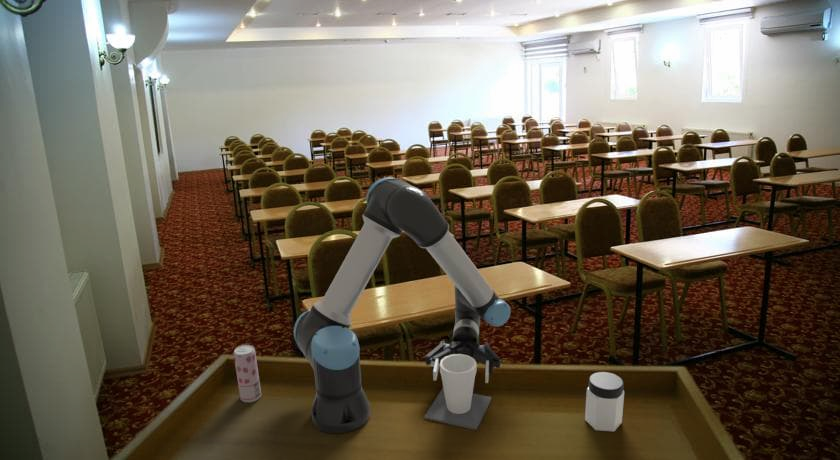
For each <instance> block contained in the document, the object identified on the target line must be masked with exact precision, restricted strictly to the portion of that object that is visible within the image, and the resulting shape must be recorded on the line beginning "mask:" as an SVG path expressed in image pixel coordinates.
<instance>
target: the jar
mask: <svg viewBox="0 0 840 460" xmlns="http://www.w3.org/2000/svg"><path fill="white" fill-rule="evenodd" d="M585 395H586V396H585V399H586V400H585V411H584V412H585V414H584V415H585V416H584V420H585V422H587V423H588V424H589V426H591V428H593V429H594V431H601V432H616V430H617V429H618V428H619V427H620V425H621V424H622V422H623V414H624V413H623V412H624V411H623V409H624V402H625V400H624V399H625V390H624V380H623V379H622V377H620V376H619V375H617V374H615V373H612V372H608V371H598V372H594V373H592V374H591V375H590V376H589V378H588V387H587V388H586V394H585Z"/></svg>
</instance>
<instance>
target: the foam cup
mask: <svg viewBox="0 0 840 460" xmlns="http://www.w3.org/2000/svg"><path fill="white" fill-rule="evenodd" d="M477 367H478V366H477V360H476V359H474V358H472V357H470V356H468V355H463V354H452V355H449V356H446V357H444V358H443V359H442V360H441V362H440V364H439V373H440V376H441V381H442V388H443V389H444V394H445V400H446V405H447V409H448V410H449V411H450V412H452V413H456V414H463V413H466V412H468V411H469V410H470V407H471V401H472V394H474V393H473V392H474V387H475V379H476V378H475V377H476V375H477Z"/></svg>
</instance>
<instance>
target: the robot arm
mask: <svg viewBox="0 0 840 460" xmlns="http://www.w3.org/2000/svg"><path fill="white" fill-rule="evenodd" d="M366 205H367V206H366V209H364V212H363V214H362V215H361V216H362V220H363V225H362V227H361V230H360V231H359V232H358V234H357V237H356V238H355V240H354V242H353V243H352V246H351V247H350V249H349V251H348V252H347V254H346V255H345V258H344V260H343V261H342V263H341V265H340V267H339V269H338V271H337V272H336V274H335V276H334V278H333V279H332V282H331V283H330V285H329V287H328V289H327V290H326V292H325V294H324V296H323V297H322V299H321V300H319V301H316V302H314V303H313V304H312V306H311V308H310V309H308V310H307V311H304V312H302V313H301V314H300V316H299V317H297V319H296V321H295V323H294V326H293V336H294V340H295V343H296V345H297V348H298V349H299V350H300V352H302V353H303V356H304V357H305V358H306V359H307V361H308V363H309V364H310V366H311V367H312V369H313V373H314V381H315V382H314V383H315V392H316V393H315V397H314V400H313V405H312V407H311V420H312V423H313V425H314V426H315V428H317V429H318V430H319V431H322V432H324V433H329V434H334V435H335V434H345V433H350V432H354V431H356V430H358V429H360V428H361V427H363V426H364V425H365V424H366V423H367V422H368V420H369V419H370V417H371V405H370V401H369V400H368V398H367V395H366V393H365V391H364V389H363V387H362V374H361V360H360V348H361V347H360V344H359V340H358V337H357V335H356V333H355V332H353V330H352V329H350V327H351V325H352V319H351V313H352V312H353V311H354V308H355V306H356V304H357V303H358V301H359V299H360V297H361V295H362V294H363V292H364V290H365V288H366V287H367V284H368V283H369V281H370V279H371V277H372V275H373V274H374V272H375V270H376V268H377V267H378V265H379V263H380V261H381V259H382V257H383V256H384V254H385V252H386V250H387V249H388V247H389V246H390V243H391V241H392V240H393V239H396V238H399V237H400V236H401V235H402V233H404V234H406V235H407V236H408V237H410V238H411V239H412V240H413V241H414V242H415V243H416V245H417V246H418V247H419V248H422V249H426V251H427V252H428V253H429V254H430V255H431V257H432V258H433V259H434V260H435V262H436V263H437V265H439V267H440V269H442V271H443V272H444V273H445V275H447V277H448V278H449V280H451V282H452V283H453V284H454V300H455V301H454V302H455V303H454V304H455V306H454V307H455V308H454V313H455V314H454V315H455V317H454V318H455V321H454V327H453V331H452V332H453V333H452V339H451V342H450V343H446V341H445V340H441V341H439V344H438V345H437V346H436V347H435V348H433V349H432V350H430V351H429V352H428V353H427V354H426V355H425V364H426V366H430V372H432V379H433V382H434V381H437V378H438V373H439V370H440V362H441V360H442V359H443V358H444V357H446V356H449V355H452V354H463V355H468V356H470V357H472V358H474V360H476V361H478V362H479V363H481V364H482V365H484V364H486V365H484V366H485V374H484V377H485V378H484V379H485V380H484V383H485V384H488V383H489V380H490V379H489V378H490V377H489V375H492V374H494V368H496V369H498V368H501V358H500V357H499V356H498V355H497V354H496V352H495V351H494V349H492V347H490V344H489V342H484V344H481V345H480V344H479V337H480V336H479V335H480V323H481V319H482V320H484V321H485V322H486V324H489V325H491V326H493V327H501V326H503V325H504V324H506V323H507V321H508V320H509V319H510V317H511V311H512V310H511V307H510V305H509V303H506V301H505V300H503V299H502V298H500V297H499V296H498V294H497V293H496V292H495V291H494V289H493V287H492V286H490V284H489V283H488V281H487V280H486V279H485V277H484V276H483V274H482V273H481V272H480V271H479V269H478V268H477V267H476V265H475V264H474V263H473V261H472V260H471V258H470V257H469V256H468V255H467V254H466V252H465V250H464V249H463V248H462V247H461V245H460V244H459V242H457V240H456V239H455V237H454V236H453V234H452V233H451V232H450V231H449V230H450V224H449V222H448V221H447V220H446V219H445V217H444V215H443V214H442V213H441V212H440V210H439V209H438V207H437V206H436V204H435V203H434V202H433V201H432V199H431V198H430V197H429V196H428V195H427V194H426V193H425V192H424V191H423V190H422V189H420V188H419V187H416V186H414V185H413V184H412V185H411V184H410V183H408V182H406V181H405V180H403V179H400V178H396V177H392V176H389V177H388V176H387V177H382V178H380V179H378V180H376V181H375V182H374V183H373V184H371V186H370V187H369V188H368V190H367V194H366Z"/></svg>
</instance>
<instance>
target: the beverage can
mask: <svg viewBox="0 0 840 460" xmlns="http://www.w3.org/2000/svg"><path fill="white" fill-rule="evenodd" d="M233 359H234V365H235V371H236V372H235V373H236V379H237V385H238V392H239V398H240V399H239V400H240V401H242V402H243V403H254V402H256V401H258V400H260V398H261V397H262V389H261V382H260V376H259V368H258V362H257V353H256V349H255V346H253V345H251V344H242V345H239V346H237V347H236V348H235V349H234V350H233Z"/></svg>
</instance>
